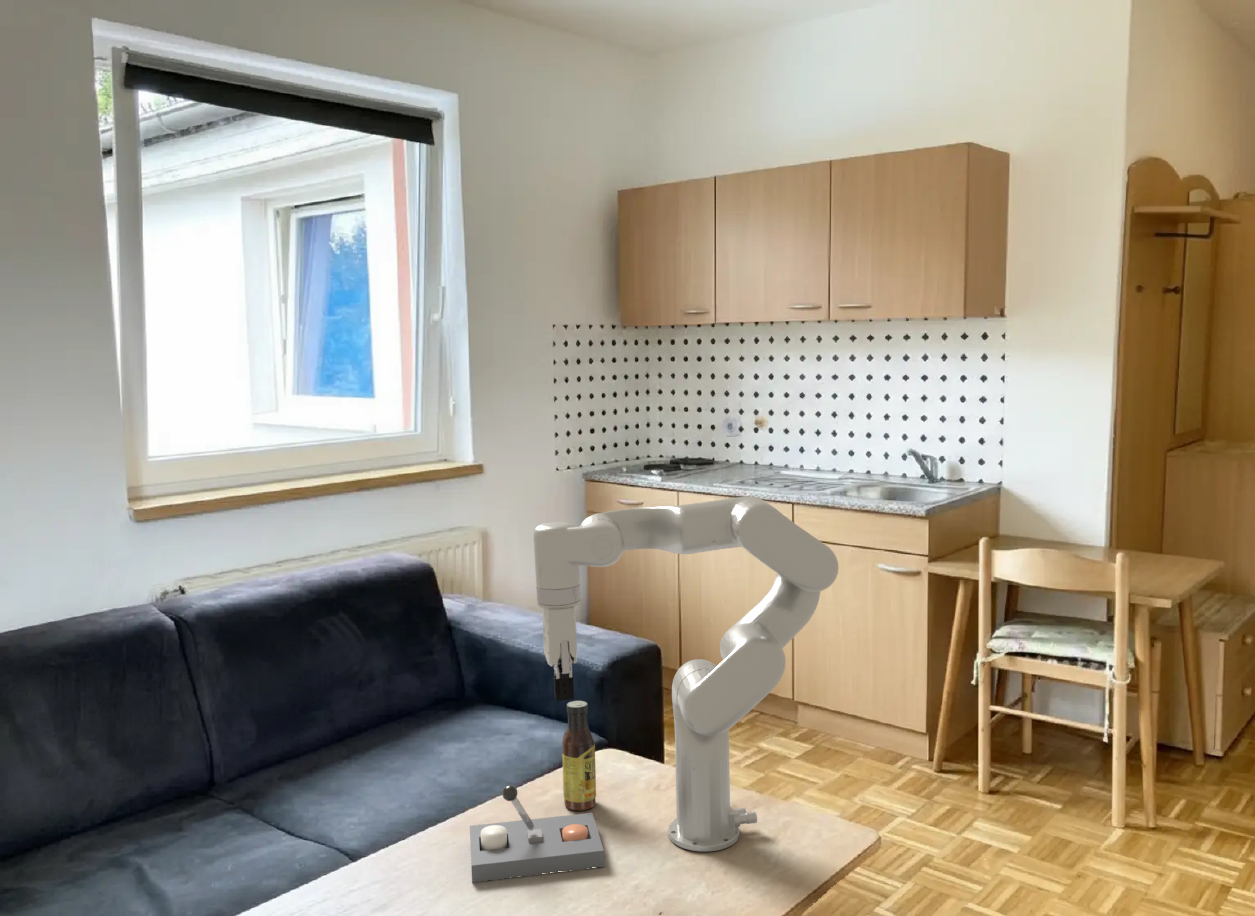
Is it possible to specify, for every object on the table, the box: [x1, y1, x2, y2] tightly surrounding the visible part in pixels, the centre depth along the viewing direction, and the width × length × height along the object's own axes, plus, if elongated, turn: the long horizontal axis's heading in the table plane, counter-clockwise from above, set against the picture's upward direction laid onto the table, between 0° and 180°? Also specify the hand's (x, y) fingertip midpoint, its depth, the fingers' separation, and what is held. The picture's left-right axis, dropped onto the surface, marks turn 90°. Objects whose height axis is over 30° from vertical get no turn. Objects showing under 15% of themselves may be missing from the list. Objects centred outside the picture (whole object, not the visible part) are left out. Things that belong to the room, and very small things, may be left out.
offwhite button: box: [481, 825, 507, 851], centre depth 172 cm, size 4×4×4 cm
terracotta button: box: [562, 824, 588, 842], centre depth 175 cm, size 4×4×4 cm
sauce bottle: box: [562, 700, 597, 812], centre depth 191 cm, size 6×6×20 cm
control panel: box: [469, 812, 605, 884], centre depth 174 cm, size 22×14×4 cm, turn 100°
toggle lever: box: [501, 784, 535, 831], centre depth 172 cm, size 3×3×9 cm
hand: (564, 698), depth 174 cm, fingers closed
